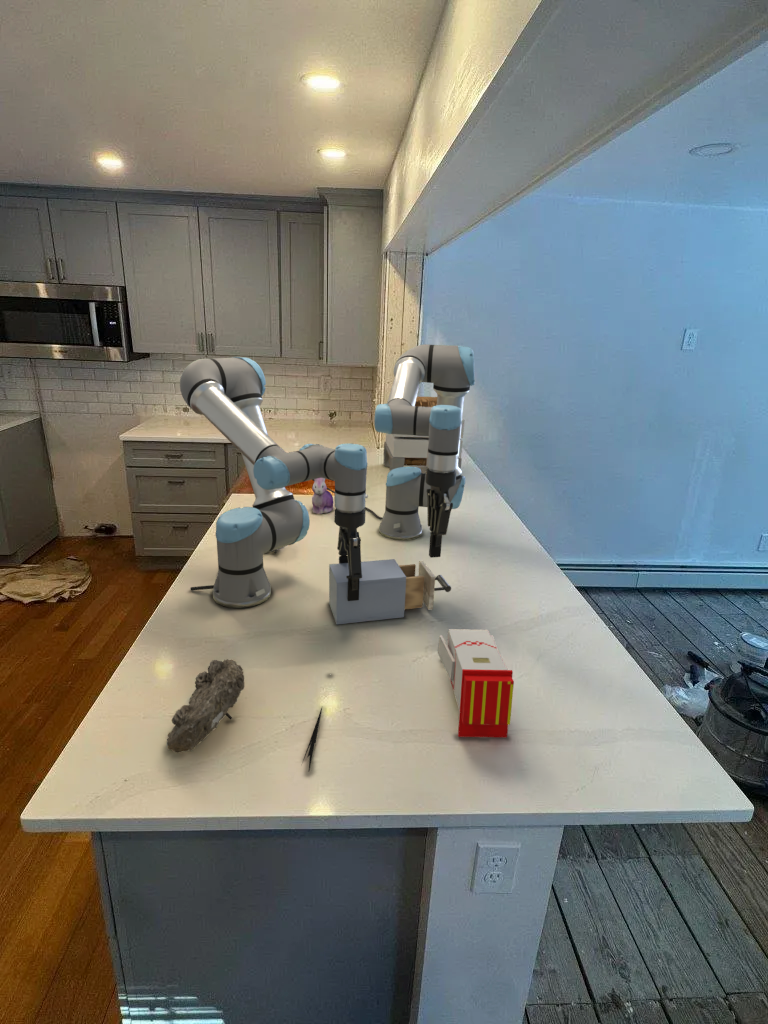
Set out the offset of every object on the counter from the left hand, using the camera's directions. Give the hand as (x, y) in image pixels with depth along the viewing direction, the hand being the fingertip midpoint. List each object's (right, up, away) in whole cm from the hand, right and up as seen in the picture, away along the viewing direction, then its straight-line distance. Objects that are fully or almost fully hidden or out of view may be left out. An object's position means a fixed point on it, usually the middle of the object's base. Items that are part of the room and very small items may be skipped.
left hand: (348, 589), depth 145 cm
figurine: (-15, +20, +74) cm, 78 cm away
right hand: (+22, +8, +3) cm, 24 cm away
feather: (-3, -20, -36) cm, 42 cm away
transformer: (+26, +39, +130) cm, 138 cm away
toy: (+27, -18, -26) cm, 42 cm away
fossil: (-24, -19, -37) cm, 48 cm away
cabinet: (+4, -6, +4) cm, 8 cm away
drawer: (+15, -4, +6) cm, 17 cm away
